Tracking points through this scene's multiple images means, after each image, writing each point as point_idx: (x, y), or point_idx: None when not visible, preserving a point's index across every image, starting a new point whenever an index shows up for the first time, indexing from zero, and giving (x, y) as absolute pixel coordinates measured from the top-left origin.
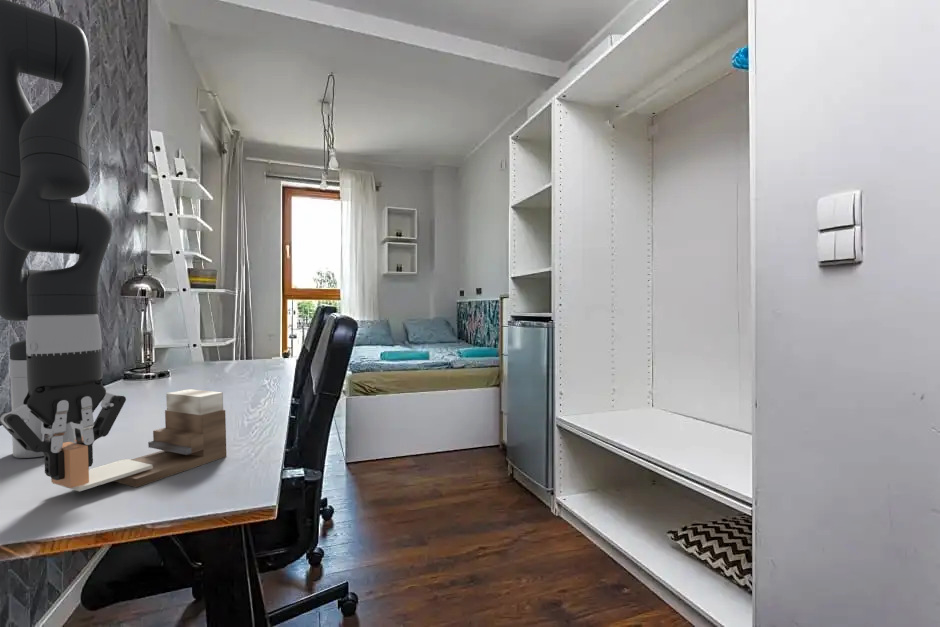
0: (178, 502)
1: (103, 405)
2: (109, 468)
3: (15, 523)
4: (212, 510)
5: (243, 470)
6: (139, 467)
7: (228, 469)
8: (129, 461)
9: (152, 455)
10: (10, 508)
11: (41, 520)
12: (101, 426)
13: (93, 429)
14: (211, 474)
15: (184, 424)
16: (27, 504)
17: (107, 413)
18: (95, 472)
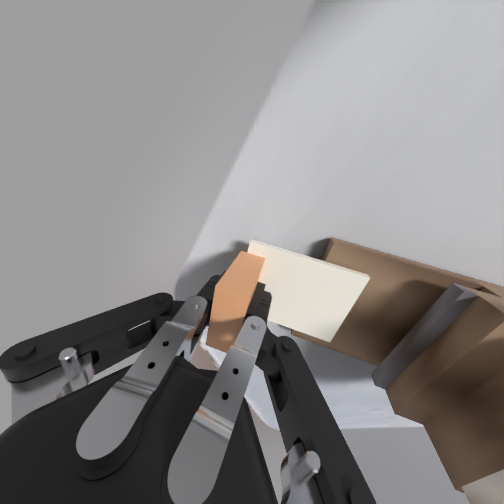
0: (263, 377)
1: (281, 467)
2: (310, 289)
3: (190, 268)
4: (254, 403)
5: (361, 403)
6: (317, 331)
7: (367, 389)
8: (351, 296)
9: (427, 286)
10: (212, 216)
11: (202, 287)
12: (268, 387)
13: (269, 361)
14: (346, 378)
15: (489, 409)
16: (226, 226)
17: (285, 433)
18: (290, 281)
